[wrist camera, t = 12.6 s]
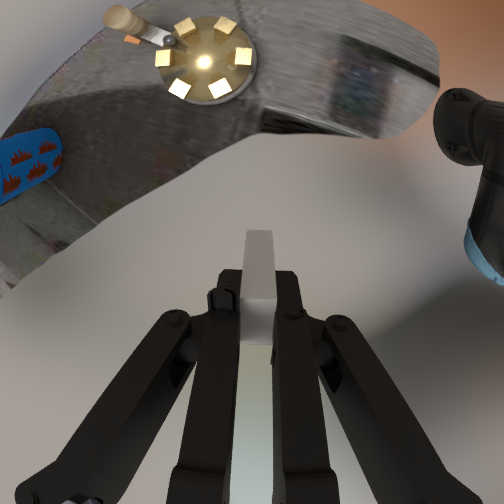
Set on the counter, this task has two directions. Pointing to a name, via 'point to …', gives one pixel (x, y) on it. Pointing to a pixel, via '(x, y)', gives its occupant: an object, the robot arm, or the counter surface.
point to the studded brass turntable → (193, 53)
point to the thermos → (28, 160)
